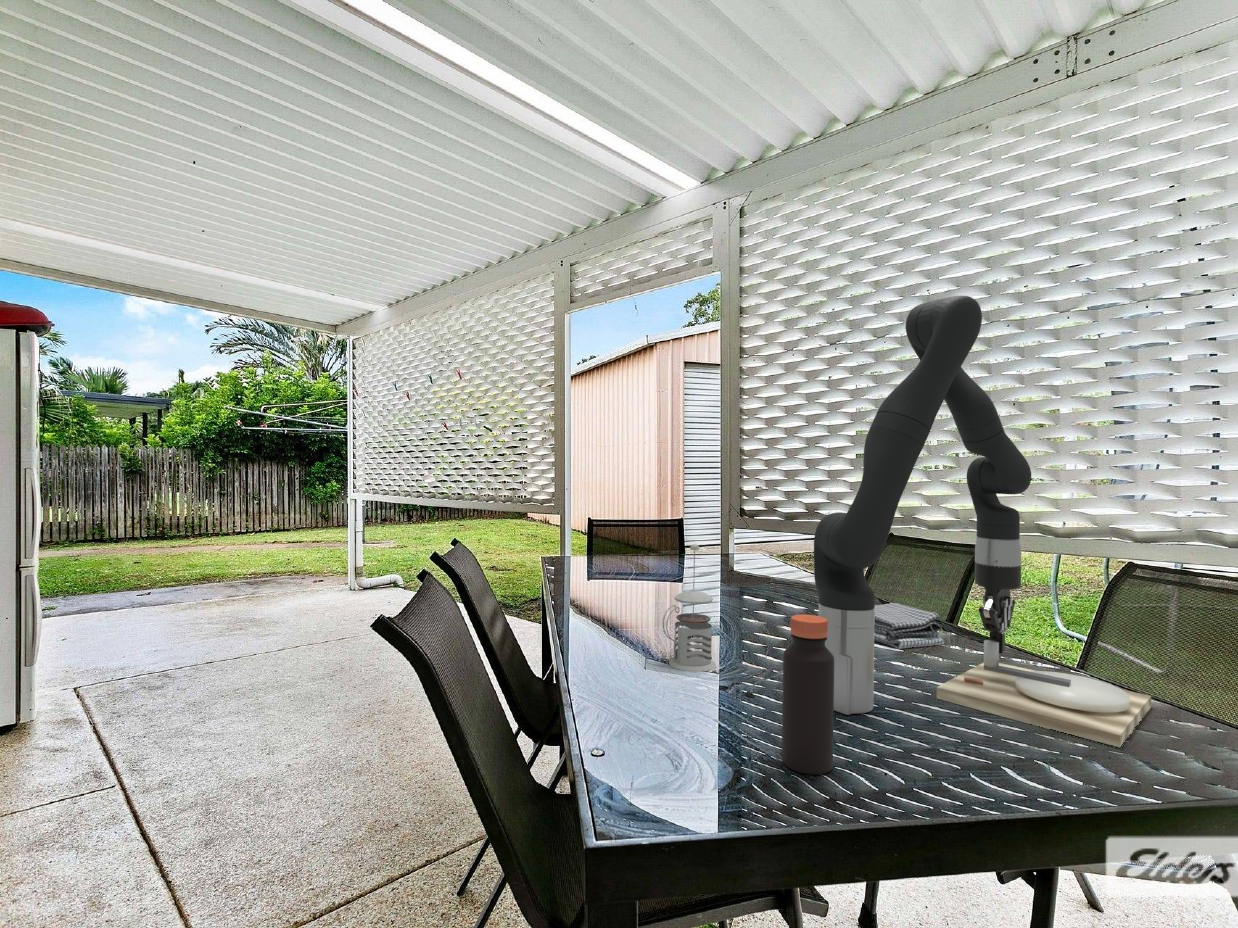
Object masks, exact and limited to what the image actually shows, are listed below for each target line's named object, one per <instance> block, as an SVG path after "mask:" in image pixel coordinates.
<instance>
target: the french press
mask: <svg viewBox="0 0 1238 928" xmlns="http://www.w3.org/2000/svg"><path fill="white" fill-rule="evenodd" d="M689 550H691V551H693V577H695V574H696V573H695V567H696V566H695V565H696V563H695V562H696V560H695V559H696V551H699V550H700V545H698V544H696V543H693V544H691V545H690V546H689ZM692 581H693V584H692V585H693V589H691V590H685V591H682V592H680V593H678V594H676V595H675V596H674V600H675V602H677V603H682V604H690V605H692V613H691V612H690V613H689V612H688V613H687V612H686V613H680V610H681V609H680V607H679V606H676V605H675V604H673V605H670V606H669V607H668V608H667V610H666V611H665V613H664V614H663V618H662V629H663V631H662V632H663V634H664V635H665V637H666V638H667V639H669V640H671V641H672V642H673V657H672V659H671V658H670V661H669V662H668V663H669V665H670V666H671V667H672V668H674V669H676V670H681V671H684V672H695V673H696V672H707V671H712V670H714V669H715V668H716V667H717V664H716V662H715V661H713V660H712V639H713V637H712V636H713V635H712V631H713V630H712V629H713V624H711V623H709V622H710V621H711V616H709V615H706V614H700V613H695V610H694V609H695V605H704V604H710V603H712V602H713V600H714V598H713V597H712V596H710V595H709V594H707V593H706V592H703V591H701V590H696V589H695V580H692ZM673 607H674V608H673ZM671 608H673V609H672V610H671V611H669V610H670V609H671ZM677 609H678V611H677ZM674 611H675V613H676V614H677V615H676V617H675V618H676V619H677V621H676V622H674V636H673V637H674V639H673V637H671V636H670V633H669V629H668V623H669V619H670V616H671V614H672V613H673V612H674ZM668 612H669V614H668V616H667V619H666V615H667V613H668ZM665 619H666V623H665ZM665 624H666V625H665ZM683 627H684V628H683ZM685 627H686V628H685ZM691 636H692V638H691ZM691 643H693V644H691ZM692 649H694V650H692Z"/></svg>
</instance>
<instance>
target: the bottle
mask: <svg viewBox="0 0 1238 928" xmlns="http://www.w3.org/2000/svg"><path fill="white" fill-rule="evenodd" d="M827 633H828V620H827V619H825V618H823V617H820V616H819V615H815V614H814V615H813V614H795V615H792V616H791V617H790V638H792V643H791V644H790V645H789V646H787V647H786V648H785V650H784V651H783V653H782V654H783V655H782V657H783V658H782V701H781V702H782V710H781V713H782V714H781V715H782V717H781V720H782V721H781V761H782V762H783V764H784V765H785V766H786V767H787V768H789V769H790V770H792V771H794V772H798V773H800V774H804V775H812V776H813V775H814V776H818V775H819V776H820V775H824V774H827V773H829V772H831V770H832V769H833V767H834V656H833V655H832V653H831V652H830V651H829V650H828V649H827V648H826V647H825V641H826V640H827Z"/></svg>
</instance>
